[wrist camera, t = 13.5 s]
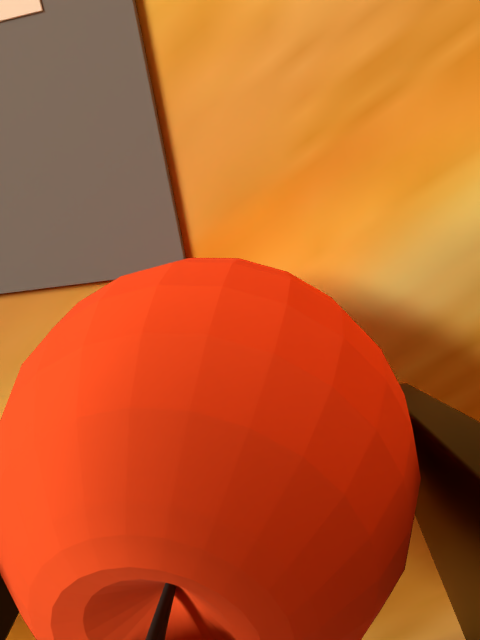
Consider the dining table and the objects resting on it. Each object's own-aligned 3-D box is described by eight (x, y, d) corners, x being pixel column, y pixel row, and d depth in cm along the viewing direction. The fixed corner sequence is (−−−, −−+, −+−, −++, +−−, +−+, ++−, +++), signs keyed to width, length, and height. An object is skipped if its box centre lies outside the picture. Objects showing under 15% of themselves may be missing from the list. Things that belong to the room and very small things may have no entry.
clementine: (416, 465, 11) (611, 917, 4) (192, 519, 13) (83, 906, 6) (318, 180, 9) (405, 208, 2) (61, 291, 10) (-344, 503, 4)
